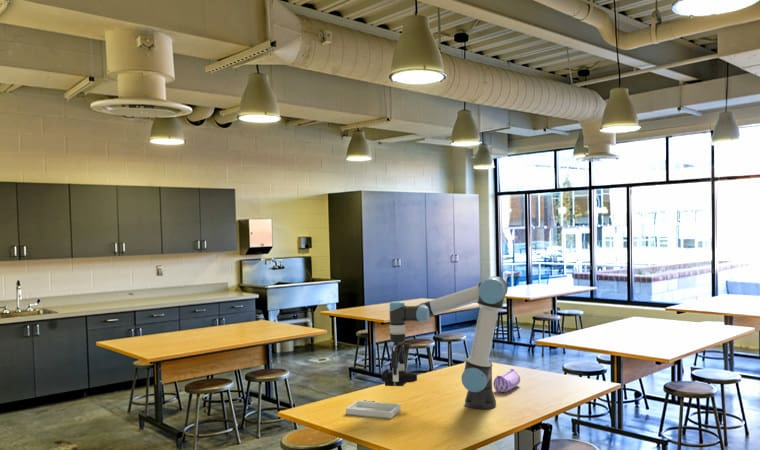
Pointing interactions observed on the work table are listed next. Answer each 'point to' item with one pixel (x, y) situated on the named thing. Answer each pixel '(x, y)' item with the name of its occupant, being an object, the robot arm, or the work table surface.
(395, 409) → the tray
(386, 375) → the night vision scope
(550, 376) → the work table surface
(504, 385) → the pencil case
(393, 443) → the work table surface
